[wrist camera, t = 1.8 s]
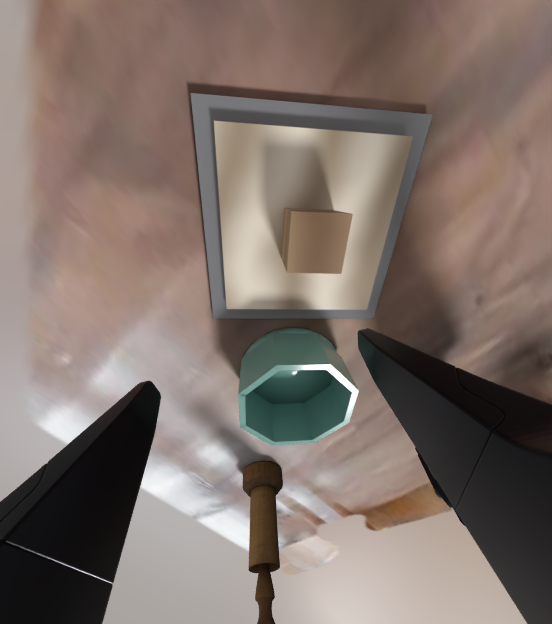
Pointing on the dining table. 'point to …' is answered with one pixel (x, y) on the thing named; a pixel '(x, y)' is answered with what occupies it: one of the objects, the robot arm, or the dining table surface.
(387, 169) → the lid
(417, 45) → the dining table surface
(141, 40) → the dining table surface
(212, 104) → the mat
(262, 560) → the brown wooden upright piece
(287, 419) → the bowl
